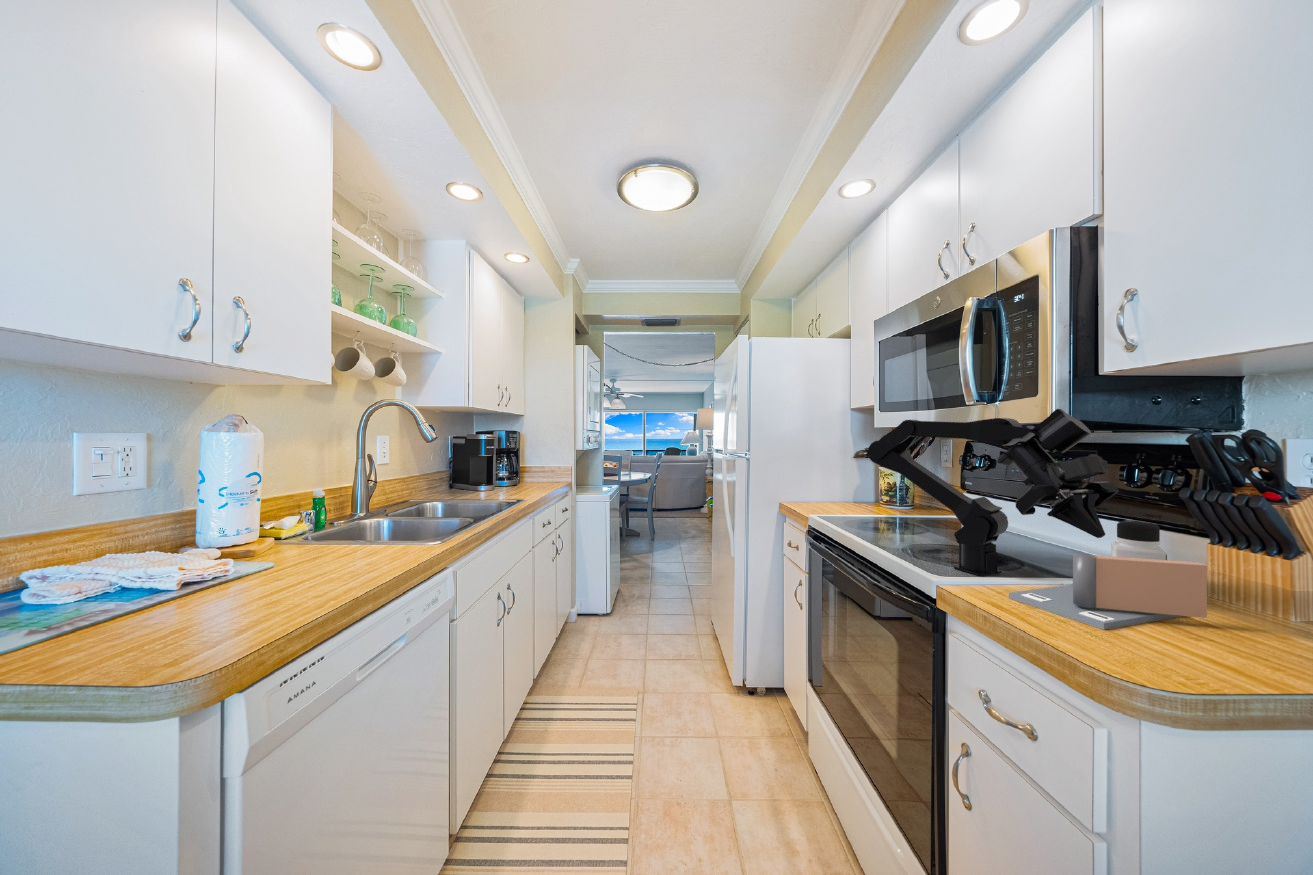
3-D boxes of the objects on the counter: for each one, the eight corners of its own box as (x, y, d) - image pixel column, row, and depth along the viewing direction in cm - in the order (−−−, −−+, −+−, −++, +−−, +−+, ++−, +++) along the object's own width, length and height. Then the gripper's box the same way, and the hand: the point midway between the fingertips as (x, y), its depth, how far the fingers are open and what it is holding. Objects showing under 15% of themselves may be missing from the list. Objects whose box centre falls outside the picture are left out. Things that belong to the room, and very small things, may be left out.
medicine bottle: (1167, 591, 93) (1167, 526, 93) (1115, 584, 97) (1115, 522, 97) (1159, 581, 99) (1159, 521, 98) (1110, 575, 103) (1111, 517, 103)
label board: (1008, 598, 90) (1008, 591, 90) (1086, 587, 95) (1086, 581, 95) (1103, 629, 75) (1103, 621, 75) (1188, 615, 81) (1188, 607, 81)
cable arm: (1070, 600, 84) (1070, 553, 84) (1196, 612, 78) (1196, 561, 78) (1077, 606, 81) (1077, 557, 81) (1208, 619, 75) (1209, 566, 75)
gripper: (1031, 441, 89) (1099, 512, 79) (1107, 438, 94) (1181, 506, 84) (991, 480, 97) (1048, 550, 87) (1063, 476, 102) (1125, 542, 92)
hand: (1101, 536), depth 87 cm, fingers closed
